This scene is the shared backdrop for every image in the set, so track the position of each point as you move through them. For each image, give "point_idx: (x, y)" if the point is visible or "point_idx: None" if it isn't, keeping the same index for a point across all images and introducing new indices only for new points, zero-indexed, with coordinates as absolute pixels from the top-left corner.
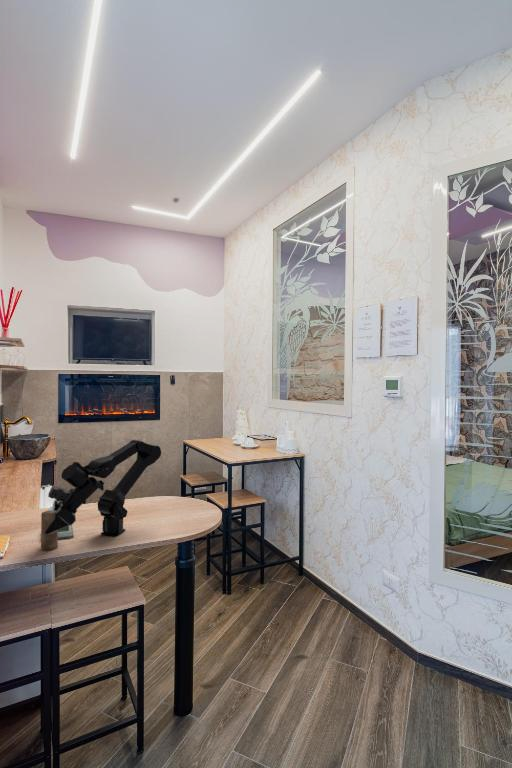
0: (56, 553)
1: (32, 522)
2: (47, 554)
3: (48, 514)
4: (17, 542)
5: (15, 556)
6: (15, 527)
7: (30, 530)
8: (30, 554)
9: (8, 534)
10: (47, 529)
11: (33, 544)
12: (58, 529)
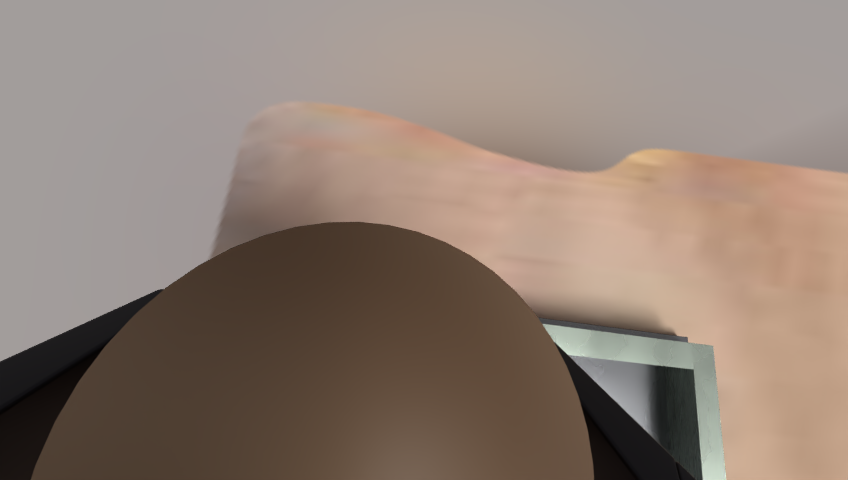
0: None
1: (833, 294)
2: None
3: (137, 421)
4: (550, 183)
5: (340, 146)
6: (772, 202)
7: (712, 269)
8: (322, 222)
9: (681, 159)
10: (91, 325)
11: (481, 258)
12: (670, 443)
